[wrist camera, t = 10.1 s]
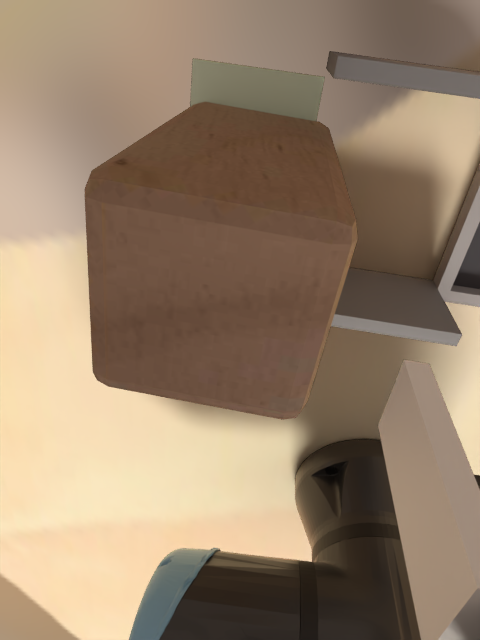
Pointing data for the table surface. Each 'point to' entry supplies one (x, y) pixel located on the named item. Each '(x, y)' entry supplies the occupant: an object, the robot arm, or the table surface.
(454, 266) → the pit trap
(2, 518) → the table surface
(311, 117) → the pad
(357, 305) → the channel
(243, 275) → the wooden block
